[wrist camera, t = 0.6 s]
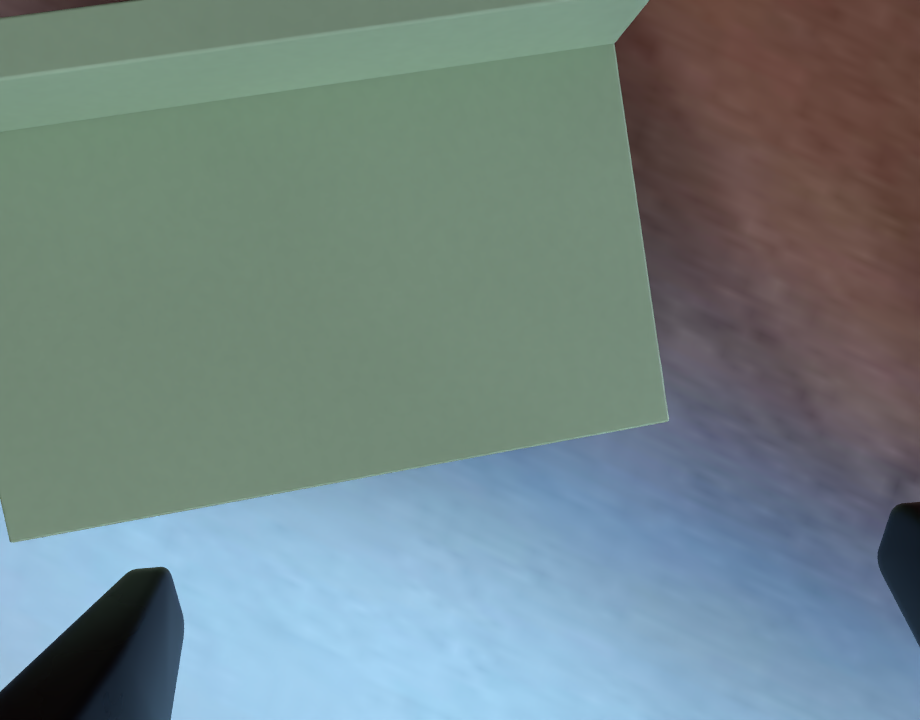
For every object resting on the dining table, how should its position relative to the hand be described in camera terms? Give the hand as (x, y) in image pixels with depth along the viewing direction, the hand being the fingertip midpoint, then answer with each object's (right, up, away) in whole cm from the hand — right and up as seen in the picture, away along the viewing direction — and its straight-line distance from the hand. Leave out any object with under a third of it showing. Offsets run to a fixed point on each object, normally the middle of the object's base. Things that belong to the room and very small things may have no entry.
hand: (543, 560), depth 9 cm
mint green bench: (-5, +5, +13) cm, 15 cm away
